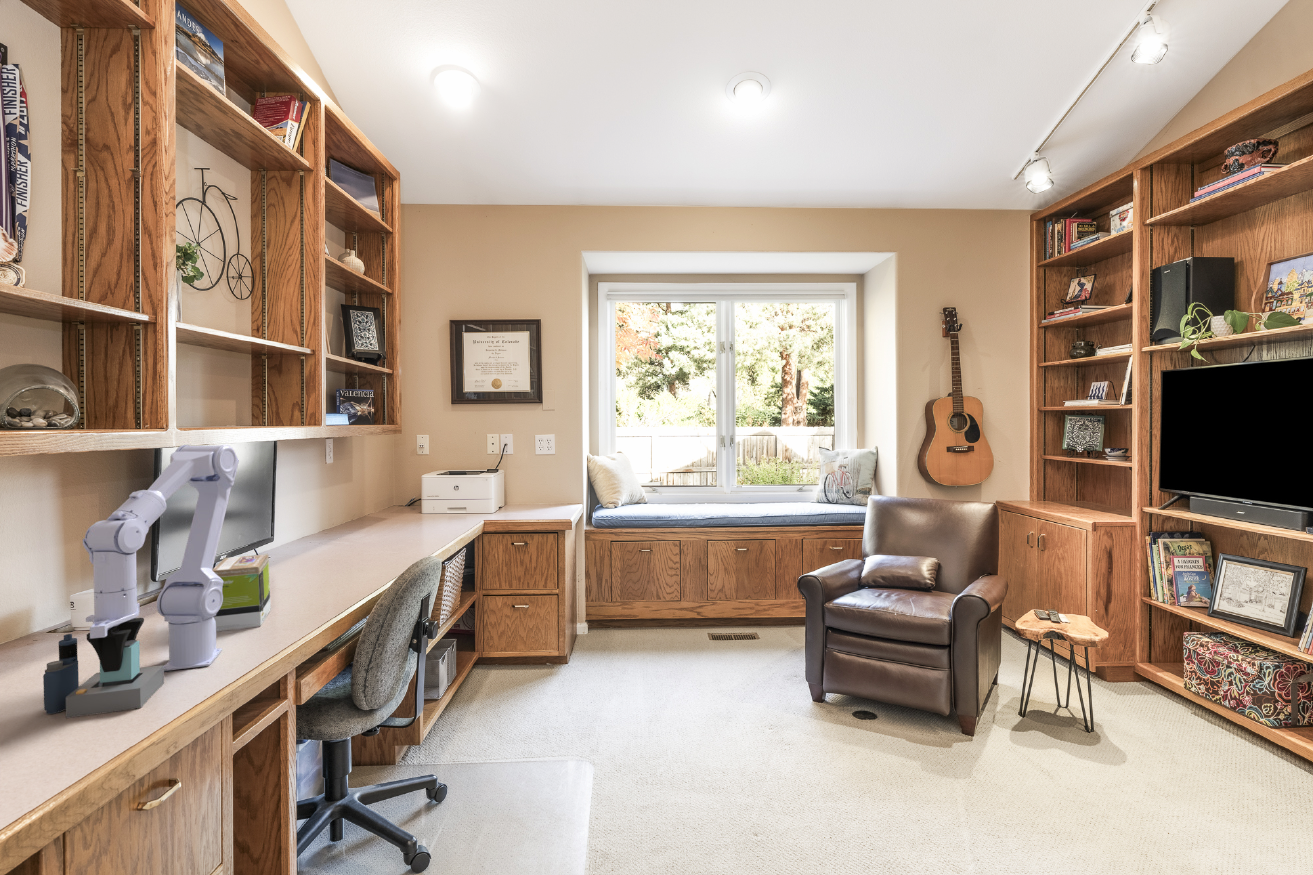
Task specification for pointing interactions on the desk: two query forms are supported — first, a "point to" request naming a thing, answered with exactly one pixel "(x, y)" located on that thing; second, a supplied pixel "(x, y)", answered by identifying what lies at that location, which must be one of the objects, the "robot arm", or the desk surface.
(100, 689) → the socket
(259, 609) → the tea box
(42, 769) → the desk surface
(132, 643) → the plug
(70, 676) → the vaping device
